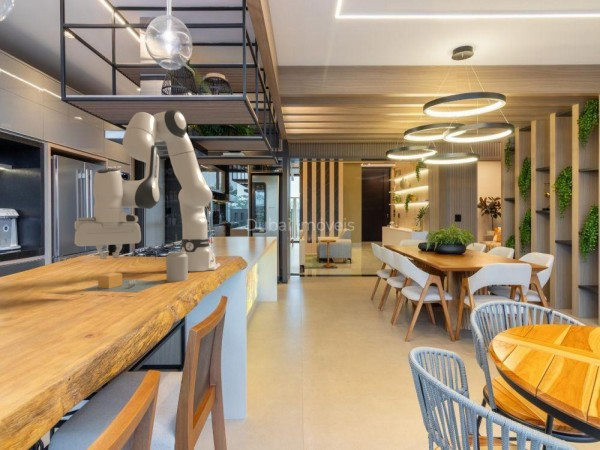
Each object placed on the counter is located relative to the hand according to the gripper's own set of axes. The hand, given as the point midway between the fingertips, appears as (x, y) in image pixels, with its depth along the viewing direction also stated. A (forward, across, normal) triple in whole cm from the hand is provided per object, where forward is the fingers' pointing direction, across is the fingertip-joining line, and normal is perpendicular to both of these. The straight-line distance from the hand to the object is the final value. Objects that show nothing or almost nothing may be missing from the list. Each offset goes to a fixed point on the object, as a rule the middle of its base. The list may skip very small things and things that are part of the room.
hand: (109, 258), depth 130 cm
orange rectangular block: (+10, 0, 0) cm, 10 cm away
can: (+11, +22, -4) cm, 25 cm away
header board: (+11, +5, -2) cm, 12 cm away
